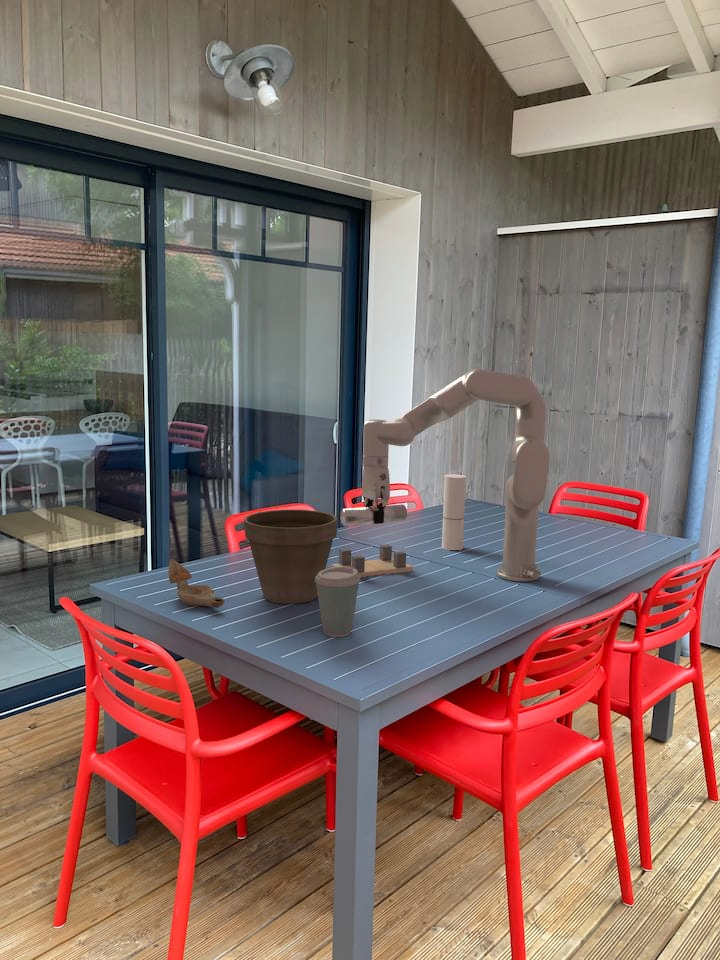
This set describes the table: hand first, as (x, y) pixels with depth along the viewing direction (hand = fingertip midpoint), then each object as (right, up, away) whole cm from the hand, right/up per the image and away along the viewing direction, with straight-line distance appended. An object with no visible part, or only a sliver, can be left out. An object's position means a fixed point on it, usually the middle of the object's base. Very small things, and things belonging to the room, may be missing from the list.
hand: (374, 520), depth 231 cm
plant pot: (-23, -19, -24) cm, 38 cm away
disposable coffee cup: (-10, -24, -50) cm, 56 cm away
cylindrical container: (+27, -11, +32) cm, 44 cm away
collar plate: (-1, -15, +3) cm, 15 cm away
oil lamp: (-47, -20, -31) cm, 60 cm away
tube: (0, -1, 0) cm, 1 cm away
